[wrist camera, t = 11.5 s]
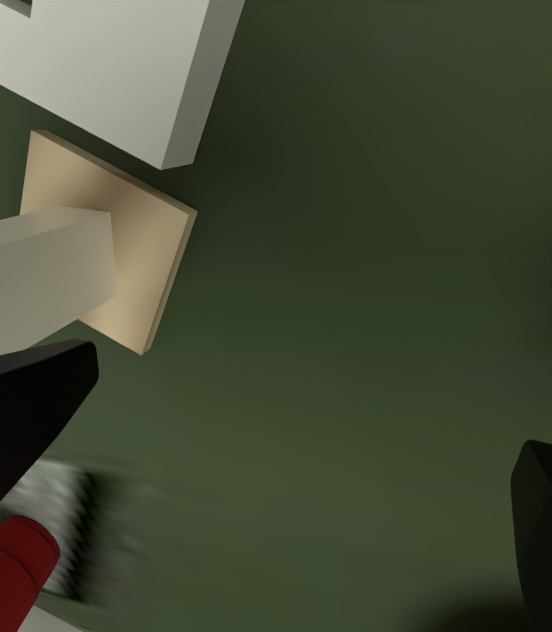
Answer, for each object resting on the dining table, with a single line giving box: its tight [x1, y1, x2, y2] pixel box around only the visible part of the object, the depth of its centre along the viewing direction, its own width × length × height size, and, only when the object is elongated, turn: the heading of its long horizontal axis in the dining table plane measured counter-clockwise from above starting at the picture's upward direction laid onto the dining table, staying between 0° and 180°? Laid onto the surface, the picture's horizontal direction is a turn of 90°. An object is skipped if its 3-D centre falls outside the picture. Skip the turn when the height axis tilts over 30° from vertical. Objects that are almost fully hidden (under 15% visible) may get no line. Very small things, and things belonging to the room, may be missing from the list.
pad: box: [20, 130, 198, 355], centre depth 24 cm, size 9×9×1 cm
